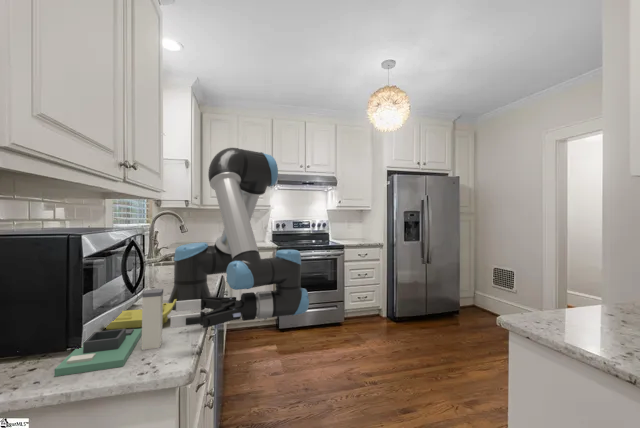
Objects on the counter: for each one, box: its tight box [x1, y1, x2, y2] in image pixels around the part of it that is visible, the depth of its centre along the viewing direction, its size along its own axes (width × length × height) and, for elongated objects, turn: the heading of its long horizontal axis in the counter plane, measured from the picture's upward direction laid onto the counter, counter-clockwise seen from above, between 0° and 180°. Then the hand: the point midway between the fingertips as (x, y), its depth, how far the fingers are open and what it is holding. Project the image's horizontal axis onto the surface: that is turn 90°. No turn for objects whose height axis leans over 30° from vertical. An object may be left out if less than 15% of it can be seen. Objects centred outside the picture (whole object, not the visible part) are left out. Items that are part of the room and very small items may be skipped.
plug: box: [141, 288, 164, 351], centre depth 75 cm, size 4×4×14 cm
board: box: [54, 327, 142, 377], centre depth 71 cm, size 20×12×4 cm, turn 21°
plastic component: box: [105, 299, 177, 331], centre depth 91 cm, size 20×7×10 cm
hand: (173, 313), depth 76 cm, fingers open, 13 cm apart
